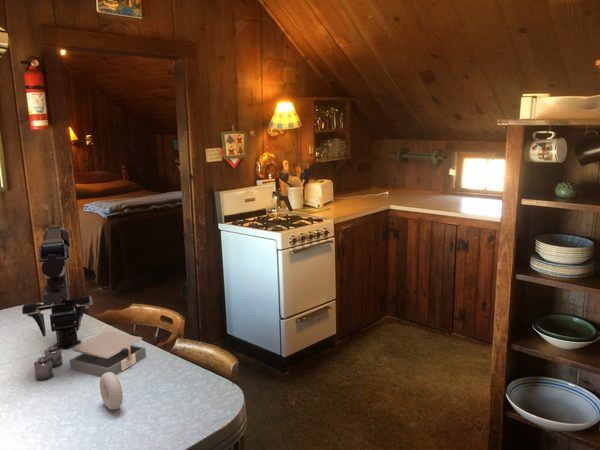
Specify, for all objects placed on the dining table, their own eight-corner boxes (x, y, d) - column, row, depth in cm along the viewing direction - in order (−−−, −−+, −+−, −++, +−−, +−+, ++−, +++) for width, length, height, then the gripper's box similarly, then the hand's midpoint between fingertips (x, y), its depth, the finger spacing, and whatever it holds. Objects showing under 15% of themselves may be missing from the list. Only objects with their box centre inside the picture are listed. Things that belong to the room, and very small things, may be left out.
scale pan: (72, 360, 162) (70, 348, 161) (108, 341, 175) (106, 330, 174) (112, 369, 155) (111, 357, 154) (147, 349, 168) (146, 338, 168)
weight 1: (32, 379, 156) (29, 360, 155) (45, 372, 160) (43, 353, 159) (43, 382, 154) (40, 363, 153) (57, 375, 158) (54, 356, 157)
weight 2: (42, 367, 164) (40, 348, 163) (55, 360, 168) (53, 342, 167) (53, 369, 162) (51, 351, 161) (66, 363, 166) (64, 345, 165)
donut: (126, 413, 137) (123, 377, 135) (113, 418, 135) (110, 382, 133) (112, 398, 144) (108, 365, 142) (99, 402, 142) (95, 369, 140)
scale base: (70, 369, 162) (69, 359, 162) (108, 348, 176) (107, 339, 176) (110, 378, 155) (109, 368, 155) (146, 356, 170) (146, 347, 169)
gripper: (13, 284, 148) (18, 339, 146) (83, 274, 153) (88, 327, 150) (26, 287, 159) (30, 339, 156) (90, 278, 163) (95, 328, 161)
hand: (61, 333), depth 156 cm, fingers open, 9 cm apart
